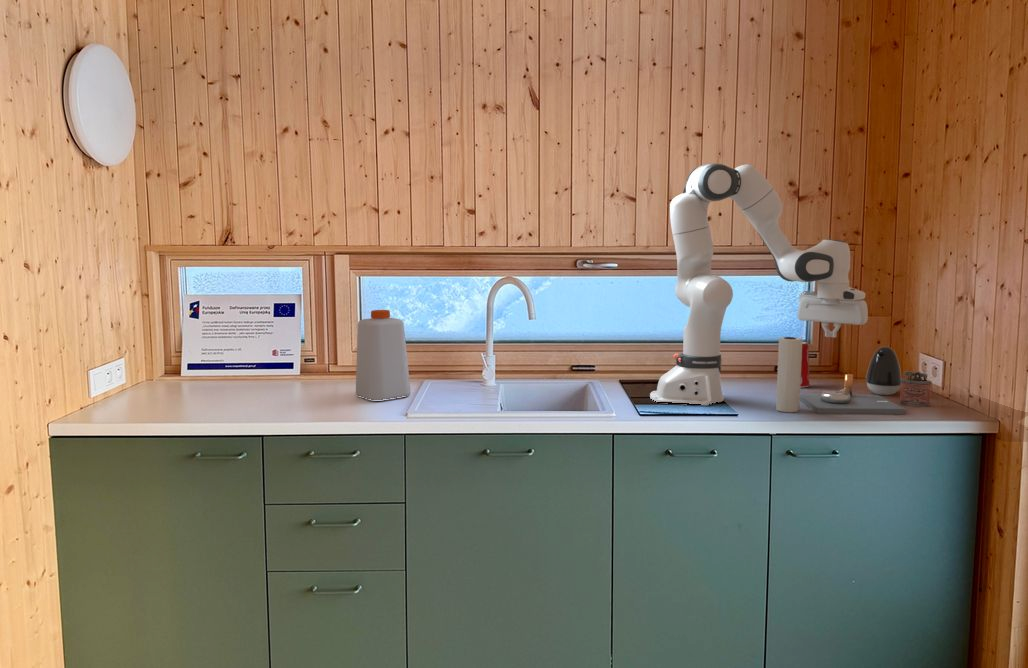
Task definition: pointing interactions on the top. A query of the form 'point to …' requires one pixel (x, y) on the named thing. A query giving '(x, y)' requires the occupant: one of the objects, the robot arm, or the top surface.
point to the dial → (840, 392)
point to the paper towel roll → (789, 374)
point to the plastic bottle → (381, 358)
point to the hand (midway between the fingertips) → (830, 337)
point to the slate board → (853, 405)
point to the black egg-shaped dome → (884, 372)
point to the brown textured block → (915, 390)
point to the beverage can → (805, 366)
